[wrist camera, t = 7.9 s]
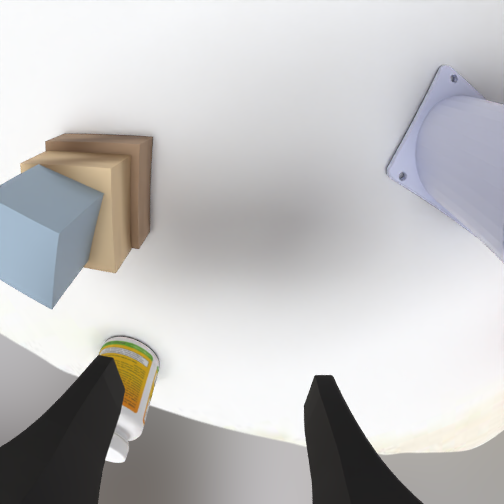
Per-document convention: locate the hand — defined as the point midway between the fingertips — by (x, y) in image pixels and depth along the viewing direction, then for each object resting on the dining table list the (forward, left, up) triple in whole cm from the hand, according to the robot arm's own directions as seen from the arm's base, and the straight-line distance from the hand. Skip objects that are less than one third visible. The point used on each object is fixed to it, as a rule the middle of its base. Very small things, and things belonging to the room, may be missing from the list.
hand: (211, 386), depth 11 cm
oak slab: (+9, 0, -8) cm, 12 cm away
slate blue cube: (+9, -1, -6) cm, 11 cm away
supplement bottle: (+4, +14, -11) cm, 18 cm away
